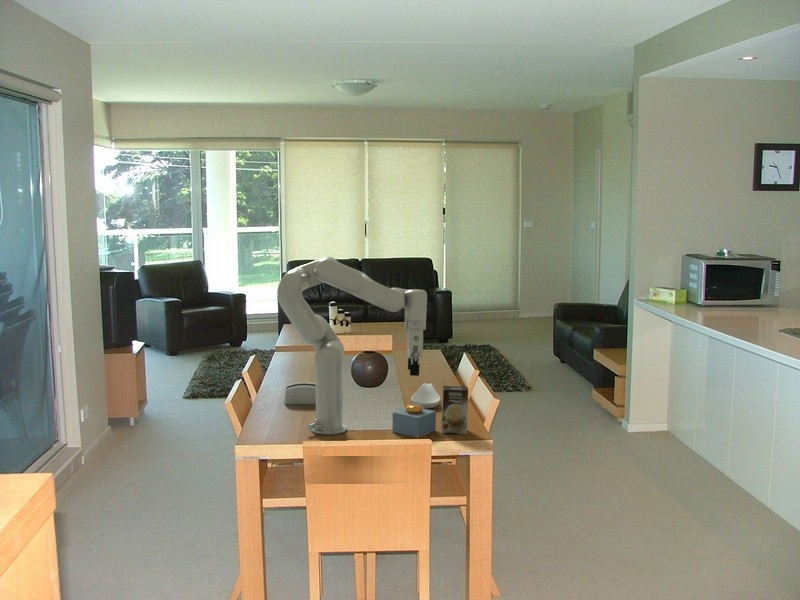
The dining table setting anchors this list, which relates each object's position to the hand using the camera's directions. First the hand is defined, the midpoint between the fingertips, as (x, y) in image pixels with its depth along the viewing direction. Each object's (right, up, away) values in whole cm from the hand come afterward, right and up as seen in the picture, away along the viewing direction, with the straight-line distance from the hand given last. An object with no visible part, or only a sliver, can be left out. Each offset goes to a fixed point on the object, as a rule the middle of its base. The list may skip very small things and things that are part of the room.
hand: (413, 372), depth 274 cm
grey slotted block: (-43, -17, +40) cm, 61 cm away
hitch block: (0, -21, +3) cm, 21 cm away
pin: (0, -21, +3) cm, 21 cm away
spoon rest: (+6, -17, +42) cm, 46 cm away
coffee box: (+15, -22, +3) cm, 26 cm away
